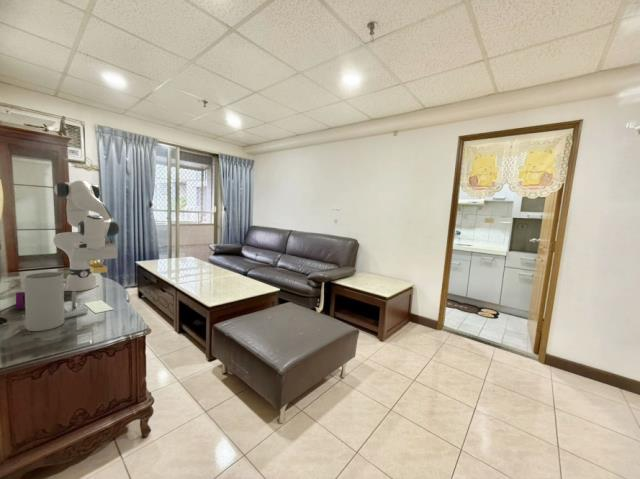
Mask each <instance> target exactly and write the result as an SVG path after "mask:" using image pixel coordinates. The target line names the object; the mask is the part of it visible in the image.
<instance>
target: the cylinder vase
mask: <svg viewBox="0 0 640 479" xmlns="http://www.w3.org/2000/svg"><path fill="white" fill-rule="evenodd" d="M23 277H24V278H23V279H24V280H23V281H24V282H23V283H24V292H25V304H24V309H25V328H26V330H27V331H29V332H42V331H48V330H53V329H56V328H58V327H60V326H62V325H63V324H64V323H65V318H64V302H65V291H64V284H65V283H64V279H65V278H64V272H60V271H59V272H58V271H46V272H45V271H44V272H36V273H31V274H26V275H24V276H23Z"/></svg>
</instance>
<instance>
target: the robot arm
mask: <svg viewBox="0 0 640 479" xmlns="http://www.w3.org/2000/svg"><path fill="white" fill-rule="evenodd" d="M53 191H54V193H55V195H56V196H57V197H58V198H61V199H64V200H65V199H67V201H66V217H67V218H66V220H67V223H68V224H69V226H72V227H75V228H77V231H66V232H59V233H57V234H55V236H54V237H53V244H54V246H55V247H56V248H58V249H60V250H61V251H63V252H64V253H65V254H66V255H67V257H68V260H69V261H68V262H69V269H68V275H67V276H66V278H64V292H67V291H68V292H80V291H87V290H92V289H94V288H96V287H99V286H100V284H99V283H98V282H97V276H96V273H94V274H93V273H92V272H90V266H93V265H92V264H91V265H90V263H89V262H90V260H96V261H99V263H100V265H103V263H104V262H105V260H112V259H117V258H118V252H117V251H118V245H117V244H116V243H114V242H112V243H111V242H110V243H109V242H108V243H107V242H106V237H109V238H110V237H112V238H113V237H114V236H117V234H118V233H119V231H120V230H119V229H120V227H119V224H118V223H117V221H116V220H115V219H114V217H113V215H112V214H111V212H110V210H109V208H108V207H107V205H106V204H105V203H104V202H103V201H101V200H99V198H100V196H101V189H100V187H99V186H98V185H97V184H93V183H89V182H87V181H84V180H75V181H73V182H69V181H67V182H66V181H58V182H57V183H55V186H54V190H53ZM90 212H92V213H93V212H94V213H96V214H90ZM97 214H98V215H97ZM88 267H89V268H88Z"/></svg>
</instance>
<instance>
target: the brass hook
mask: <svg viewBox="0 0 640 479" xmlns="http://www.w3.org/2000/svg"><path fill="white" fill-rule="evenodd" d="M89 263H90V265H91V264H92V265H93V266H90V272H92V273H93V274H102V273H108V266H107V265H104V264H102V265H100V261H99V260H90V262H89ZM88 268H89V267H88Z"/></svg>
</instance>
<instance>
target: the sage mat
mask: <svg viewBox="0 0 640 479" xmlns="http://www.w3.org/2000/svg"><path fill="white" fill-rule="evenodd" d="M83 305H85V306H86V307H87V308H88V310H89V309H90V310H91V311H92V313H94V314H95V315H96V314H100V313H104V312H109V311H114V308H113V307H111V306H110V305H109V304H108V303H106V302H104V301H103V300H102V299H100V300H96V301H95V300H94V301H90V302H89V301H88V302H84V303H83Z"/></svg>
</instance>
